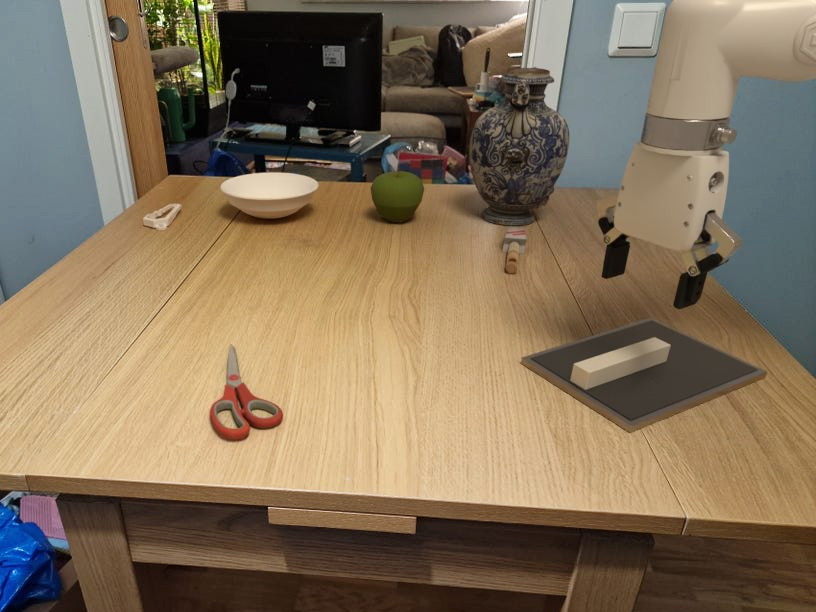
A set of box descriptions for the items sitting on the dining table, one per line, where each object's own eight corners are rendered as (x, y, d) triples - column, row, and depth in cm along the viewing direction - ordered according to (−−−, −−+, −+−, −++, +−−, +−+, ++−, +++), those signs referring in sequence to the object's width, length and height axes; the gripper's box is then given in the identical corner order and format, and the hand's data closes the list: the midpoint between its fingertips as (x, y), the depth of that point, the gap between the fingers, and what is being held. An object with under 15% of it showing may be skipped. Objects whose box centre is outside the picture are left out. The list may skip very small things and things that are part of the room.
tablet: (649, 323, 94) (650, 316, 93) (765, 377, 81) (768, 370, 80) (520, 363, 84) (521, 356, 83) (629, 433, 71) (631, 425, 70)
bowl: (209, 227, 130) (206, 195, 127) (238, 199, 147) (236, 170, 144) (308, 233, 127) (308, 200, 124) (326, 203, 144) (326, 174, 141)
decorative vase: (551, 240, 124) (578, 79, 110) (453, 228, 130) (467, 74, 116) (559, 208, 141) (584, 65, 128) (472, 199, 147) (487, 62, 133)
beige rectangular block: (650, 353, 84) (654, 336, 83) (666, 361, 82) (671, 344, 81) (569, 380, 78) (573, 363, 77) (585, 390, 77) (589, 372, 75)
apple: (376, 210, 140) (377, 162, 135) (425, 214, 138) (429, 165, 133) (364, 225, 131) (365, 175, 126) (417, 230, 129) (420, 179, 124)
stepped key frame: (159, 210, 140) (158, 202, 139) (183, 210, 140) (182, 202, 139) (140, 230, 129) (138, 221, 128) (165, 230, 129) (164, 221, 128)
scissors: (235, 345, 88) (234, 335, 87) (291, 429, 71) (290, 418, 71) (177, 356, 85) (176, 346, 85) (222, 447, 69) (220, 436, 68)
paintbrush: (528, 220, 124) (523, 262, 108) (526, 234, 126) (521, 277, 110) (507, 218, 125) (499, 260, 109) (505, 232, 127) (497, 275, 110)
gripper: (791, 143, 61) (740, 311, 70) (637, 117, 75) (609, 260, 83) (740, 154, 58) (693, 327, 67) (589, 124, 72) (565, 272, 80)
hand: (646, 290), depth 75 cm, fingers open, 9 cm apart
